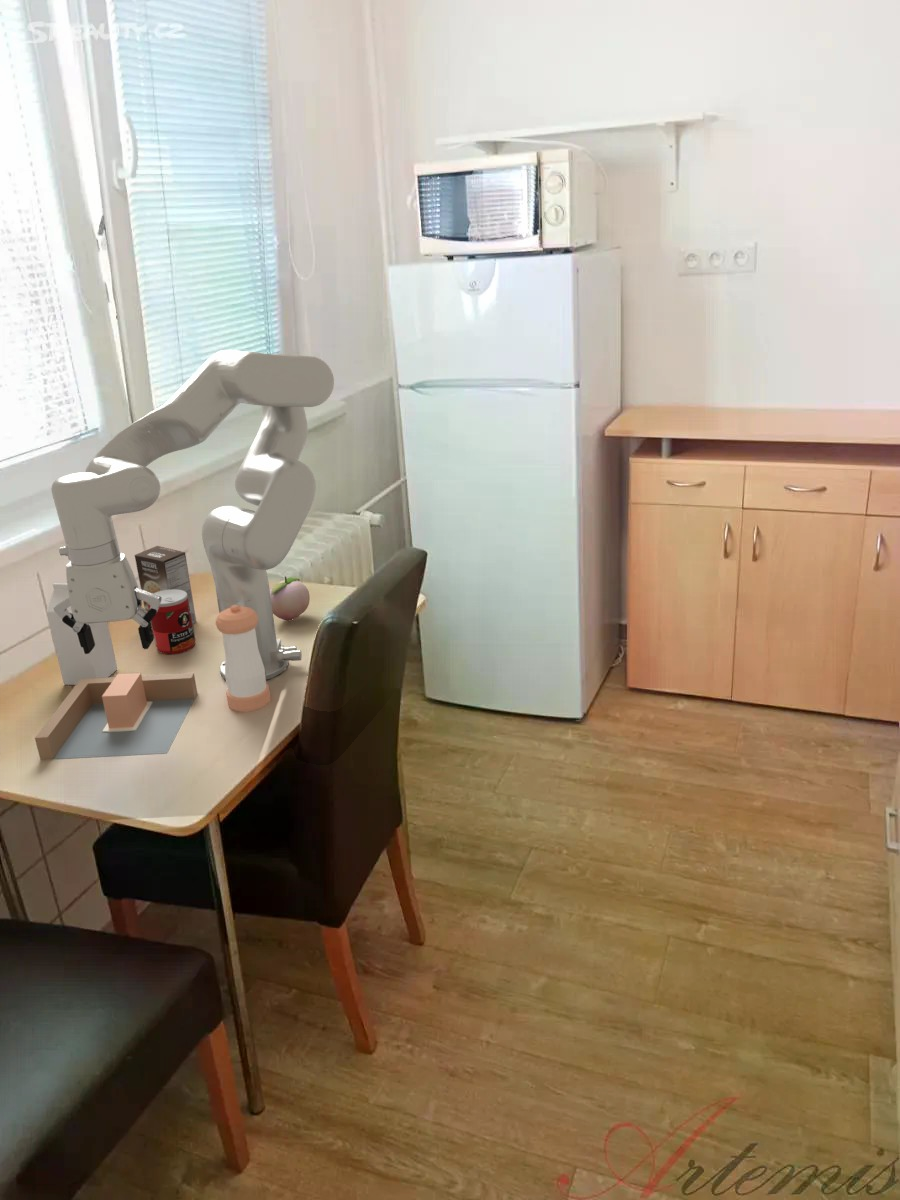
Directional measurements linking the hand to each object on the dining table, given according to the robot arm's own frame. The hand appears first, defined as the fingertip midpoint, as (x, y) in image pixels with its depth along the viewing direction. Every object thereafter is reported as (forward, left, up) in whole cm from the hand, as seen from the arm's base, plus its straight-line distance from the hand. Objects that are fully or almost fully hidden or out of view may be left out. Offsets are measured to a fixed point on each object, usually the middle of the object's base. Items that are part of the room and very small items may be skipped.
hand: (119, 647), depth 152 cm
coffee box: (+5, -42, -14) cm, 44 cm away
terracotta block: (+1, +1, -13) cm, 12 cm away
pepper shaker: (-19, -3, -14) cm, 24 cm away
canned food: (+1, -30, -14) cm, 33 cm away
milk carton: (+14, -18, -14) cm, 27 cm away
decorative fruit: (-21, -40, -14) cm, 47 cm away
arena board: (+1, +3, -14) cm, 14 cm away
